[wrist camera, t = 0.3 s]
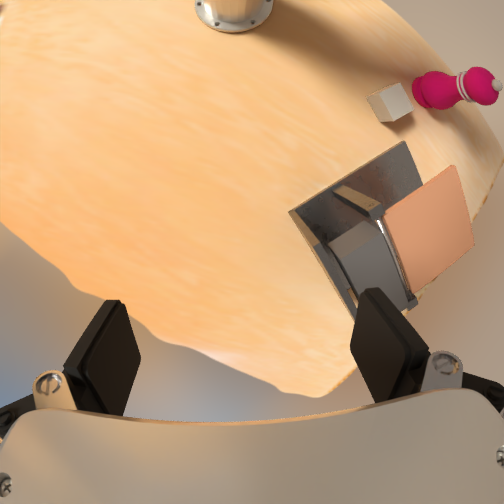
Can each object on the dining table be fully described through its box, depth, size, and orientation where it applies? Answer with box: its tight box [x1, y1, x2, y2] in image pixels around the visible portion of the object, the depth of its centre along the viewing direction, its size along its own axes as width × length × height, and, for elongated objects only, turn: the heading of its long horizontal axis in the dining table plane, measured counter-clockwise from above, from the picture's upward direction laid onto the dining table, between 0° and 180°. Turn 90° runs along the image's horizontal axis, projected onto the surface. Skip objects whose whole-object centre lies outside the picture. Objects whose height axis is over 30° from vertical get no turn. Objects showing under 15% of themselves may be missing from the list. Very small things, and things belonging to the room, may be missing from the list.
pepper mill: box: [412, 67, 502, 110], centre depth 29 cm, size 7×7×20 cm
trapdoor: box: [328, 165, 474, 312], centre depth 35 cm, size 14×22×5 cm, turn 123°
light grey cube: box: [366, 83, 414, 122], centre depth 38 cm, size 5×5×5 cm
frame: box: [288, 141, 423, 322], centre depth 40 cm, size 19×25×16 cm
